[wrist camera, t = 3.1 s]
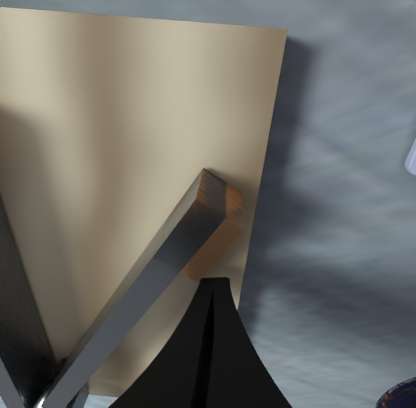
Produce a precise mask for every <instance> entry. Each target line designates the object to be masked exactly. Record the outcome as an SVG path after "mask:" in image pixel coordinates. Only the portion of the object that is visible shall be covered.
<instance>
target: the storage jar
mask: <svg viewBox="0 0 416 408" xmlns="http://www.w3.org/2000/svg"><path fill="white" fill-rule="evenodd" d="M376 408H416V377H415V378H412V379H409V380H407V381H404V382H402V383H400V384H398V385H396V386H394V387H393V388H391V389H390V390H388V391H387V392H386V393H385V394H383V395H382V396H381V398H380V399H379V400H378V402H377V404H376Z"/></svg>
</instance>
